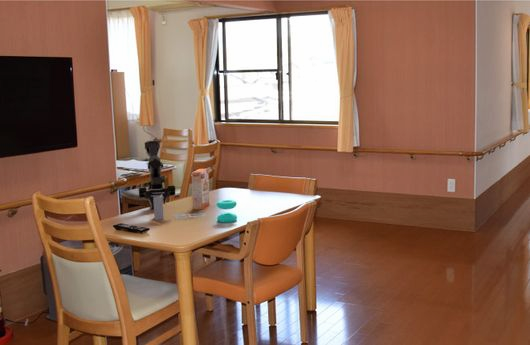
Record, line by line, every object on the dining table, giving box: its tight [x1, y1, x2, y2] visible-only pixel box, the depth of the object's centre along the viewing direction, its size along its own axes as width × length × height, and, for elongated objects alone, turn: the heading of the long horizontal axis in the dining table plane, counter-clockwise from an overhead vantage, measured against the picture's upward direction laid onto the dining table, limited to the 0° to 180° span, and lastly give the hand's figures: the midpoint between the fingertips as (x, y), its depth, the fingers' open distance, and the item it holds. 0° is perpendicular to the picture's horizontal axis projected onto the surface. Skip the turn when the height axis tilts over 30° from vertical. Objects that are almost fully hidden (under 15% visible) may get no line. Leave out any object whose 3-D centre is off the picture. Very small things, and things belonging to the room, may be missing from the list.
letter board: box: [173, 211, 208, 220], centre depth 335 cm, size 12×16×1 cm
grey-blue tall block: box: [153, 194, 165, 221], centre depth 330 cm, size 4×4×12 cm
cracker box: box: [191, 168, 210, 210], centre depth 356 cm, size 14×6×21 cm, turn 168°
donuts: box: [216, 199, 238, 223], centre depth 321 cm, size 10×10×10 cm
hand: (158, 204), depth 328 cm, fingers open, 6 cm apart
